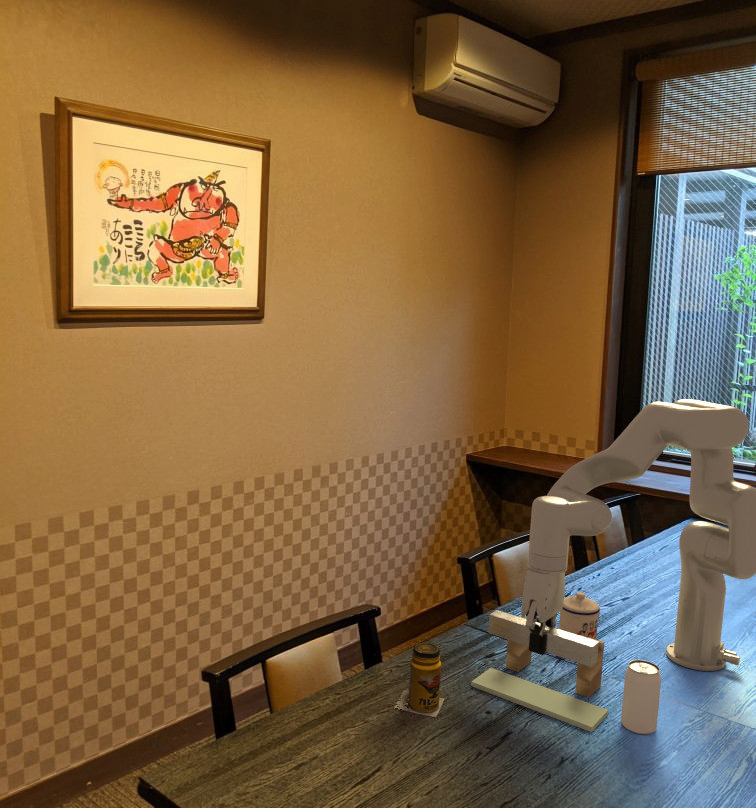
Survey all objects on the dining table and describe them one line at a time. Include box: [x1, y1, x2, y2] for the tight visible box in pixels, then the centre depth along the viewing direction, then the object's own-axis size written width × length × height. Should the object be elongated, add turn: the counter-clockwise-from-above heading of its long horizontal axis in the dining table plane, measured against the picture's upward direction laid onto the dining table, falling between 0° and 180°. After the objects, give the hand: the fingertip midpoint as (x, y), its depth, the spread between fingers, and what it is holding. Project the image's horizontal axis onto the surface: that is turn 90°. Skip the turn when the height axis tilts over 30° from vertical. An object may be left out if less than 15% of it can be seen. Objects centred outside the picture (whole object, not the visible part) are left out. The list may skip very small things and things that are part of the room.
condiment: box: [393, 642, 445, 718], centre depth 155 cm, size 7×8×12 cm
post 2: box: [574, 638, 605, 698], centre depth 163 cm, size 3×6×10 cm, turn 143°
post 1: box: [505, 615, 533, 673], centre depth 173 cm, size 3×6×10 cm, turn 143°
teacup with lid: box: [558, 591, 601, 640], centre depth 187 cm, size 12×9×12 cm
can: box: [620, 659, 662, 736], centre depth 150 cm, size 6×6×12 cm
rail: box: [488, 609, 599, 667], centre depth 157 cm, size 22×3×4 cm, turn 53°
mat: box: [470, 667, 609, 733], centre depth 159 cm, size 26×8×1 cm, turn 53°
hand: (540, 648), depth 157 cm, fingers closed on rail, 3 cm apart
